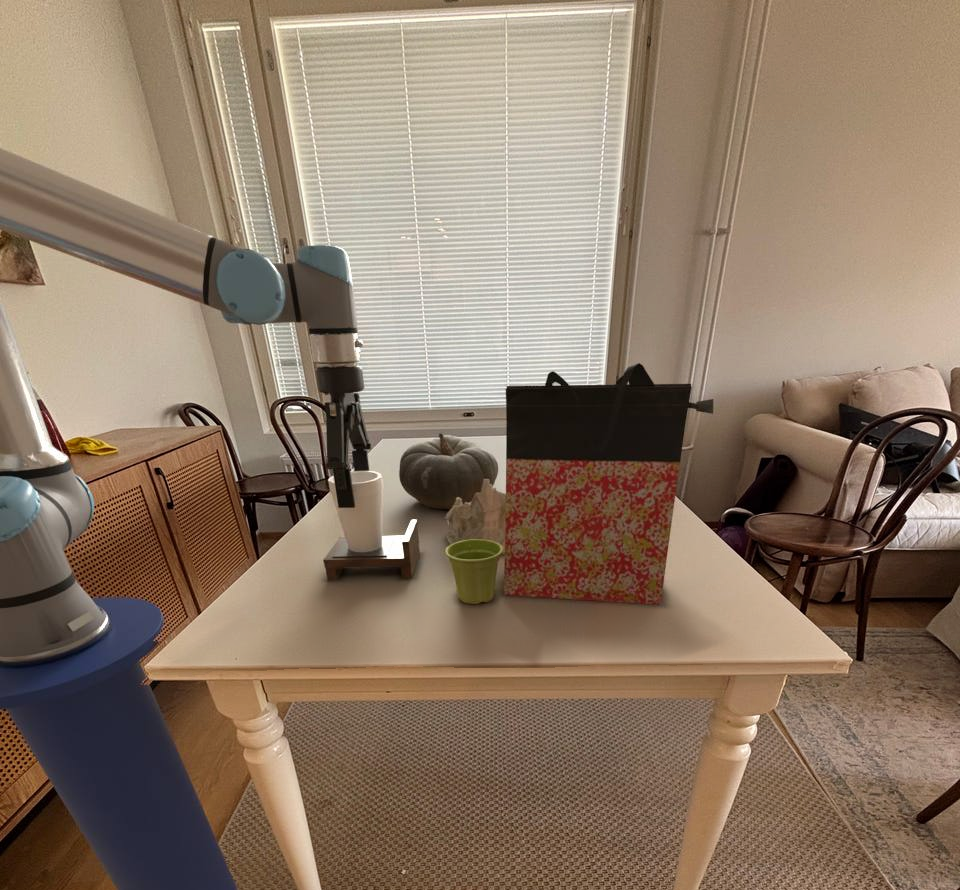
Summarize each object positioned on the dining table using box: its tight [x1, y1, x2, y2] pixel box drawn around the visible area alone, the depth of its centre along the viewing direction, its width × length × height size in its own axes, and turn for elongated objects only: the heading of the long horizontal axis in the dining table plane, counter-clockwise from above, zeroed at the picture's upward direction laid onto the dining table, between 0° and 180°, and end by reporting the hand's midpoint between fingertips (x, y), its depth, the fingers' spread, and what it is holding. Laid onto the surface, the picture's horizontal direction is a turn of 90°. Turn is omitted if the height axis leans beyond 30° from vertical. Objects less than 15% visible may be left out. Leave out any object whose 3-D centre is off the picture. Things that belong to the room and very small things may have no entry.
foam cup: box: [327, 470, 384, 552], centre depth 99 cm, size 10×9×13 cm
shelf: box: [322, 519, 421, 581], centre depth 103 cm, size 16×12×7 cm
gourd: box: [398, 432, 499, 510], centre depth 136 cm, size 25×25×17 cm
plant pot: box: [444, 539, 503, 605], centre depth 89 cm, size 9×9×9 cm
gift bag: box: [503, 362, 714, 606], centre depth 84 cm, size 29×14×35 cm, turn 78°
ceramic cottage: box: [445, 479, 506, 555], centre depth 110 cm, size 16×16×15 cm
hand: (355, 496), depth 97 cm, fingers open, 13 cm apart
